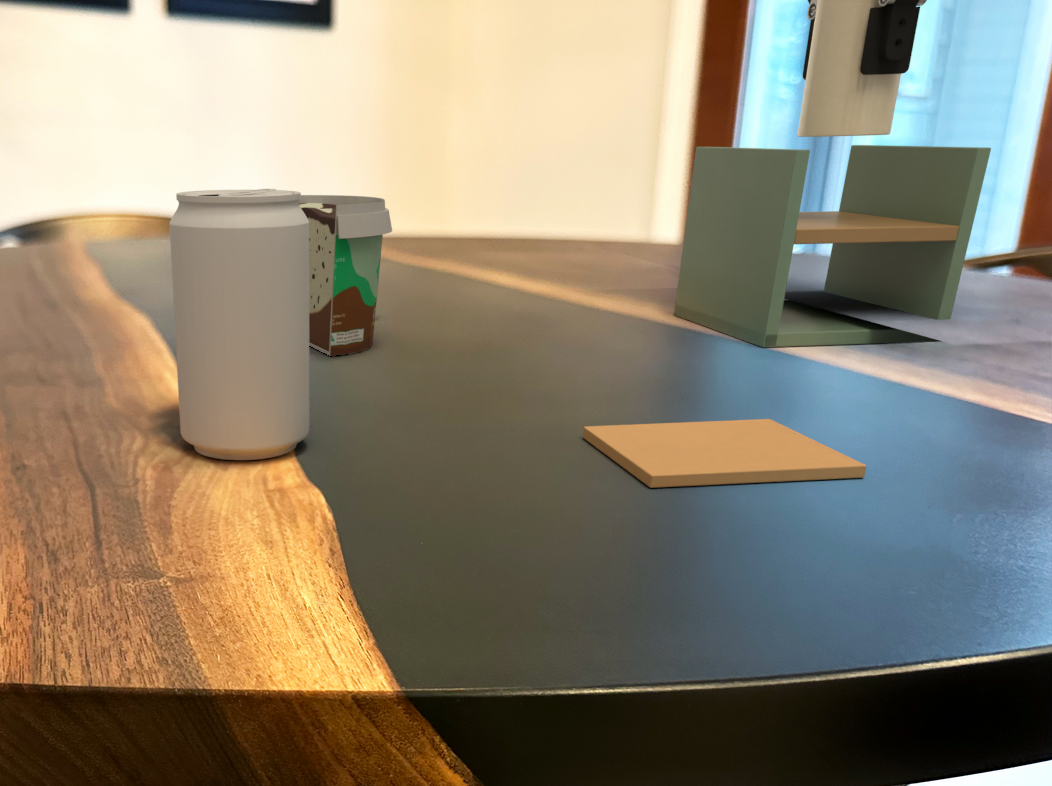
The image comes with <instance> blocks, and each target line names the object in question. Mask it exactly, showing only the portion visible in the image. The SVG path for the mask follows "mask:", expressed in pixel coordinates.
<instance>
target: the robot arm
mask: <svg viewBox="0 0 1052 786" xmlns="http://www.w3.org/2000/svg"><path fill="white" fill-rule="evenodd" d="M807 1H808V4H809V6H808V8H807V12H806V13H807V19H808V20H809V22H810V23H809V29H808V34H807V35H808V37H807V42H806V43H807V44H806V48H805V56H804V63H803V70H802V79H803V80H804V81H806V75H807V68H808V62H809V55H810V48H811V41H812V35H813V28H814V21H815V15H816V8H817V1H818V0H807ZM927 1H928V0H878V3H879V5H880V6H882V7H874V8H870V13H869V19H868V25H867V31H866V37H865V43H864V49H863V55H862V61H861V67H860V71H861V73H862V74H863V75H876V74H901V75H902V74H905V73H907V72H908V71H909V69H910V64H911V60H912V55H913V54H912V53H913V49H914V43H915V37H916V34H917V33H916V32H917V27H918V21H919V16H920V10H921V7H922V6H924V5H925V4H926V3H927Z"/></svg>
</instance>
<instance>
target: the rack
mask: <svg viewBox="0 0 1052 786" xmlns="http://www.w3.org/2000/svg"><path fill="white" fill-rule="evenodd" d="M991 152H992V148H991V147H982V146H981V147H980V146H979V147H978V146H976V147H975V146H937V145H936V146H934V145H933V146H932V145H883V144H882V145H881V144H880V145H879V144H852V145H850V149H849V155H848V161H847V166H846V173H845V175H844V182H843V188H842V193H841V198H840V202H839V209H838V210H836V211H835V210H832V211H828V210H827V211H801V205H802V200H803V193H804V188H805V184H806V183H805V182H806V177H807V170H808V164H809V159H810V154H811V150H810V149H800V148H799V149H796V148H793V149H792V148H765V147H764V148H763V147H761V148H760V147H731V146H730V147H729V146H696V147H695V154H694V161H693V169H692V175H691V176H692V177H691V181H690V182H691V184H690V190H689V191H690V192H689V199H688V204H687V205H688V206H687V213H686V221H685V229H684V237H683V242H682V243H683V244H682V251H681V257H680V258H681V259H680V265H679V273H678V274H679V275H678V280H677V286H676V287H677V288H676V295H675V304H674V310H673V316H676V317H678V318H681V319H684V320H687V321H690V322H692V323H694V324H698V325H701V326H703V327H706V328H709V329H712V330H715V331H717V332H720V333H723V334H725V335H728V336H730V337H734V338H736V339H739V340H742V341H744V342H747V343H750V344H753V345H755V346H758V347H760V348H783V347H784V348H785V347H786V348H787V347H816V346H817V347H818V346H843V345H845V346H846V345H847V346H849V345H874V344H877V345H878V344H879V345H880V344H902V343H903V344H904V343H905V344H906V343H931V342H932V343H934V342H935V343H936V342H941V340H940V339H936V338H932V337H929V336H925V335H923V334H918V333H914V332H911V331H908V330H907V331H906V330H904V329H899V328H895V327H892V326H888V325H885V324H881V323H877V322H873V321H871V320H866V319H863V318H859V317H855V316H852V315H848V314H844V313H841V312H838V311H837V312H836V311H834V310H829V309H826V308H822V307H820V306H815V305H811V304H807V303H803V302H800V301H796V300H793V299H785V297H786V291H787V286H788V280H789V274H790V269H791V262H792V257H793V251H794V245H823V244H824V245H826V244H828V245H831V244H832V245H831V251H830V256H829V261H828V267H827V271H826V277H825V282H824V288H823V293H827V294H831V295H835V296H840V297H844V298H847V299H852V300H856V301H859V302H863V303H867V304H871V305H875V306H880V307H884V308H889V309H892V310H896V311H901V312H905V313H908V314H913V315H917V316H920V317H924V318H928V319H933V320H937V321H945V320H948V321H949V320H951V318H952V314H953V309H954V305H955V301H956V297H957V292H958V290H959V285H960V280H961V276H962V272H963V268H964V264H965V259H966V256H967V251H968V247H969V243H970V238H971V234H972V230H973V226H974V222H975V218H976V213H977V209H978V205H979V201H980V197H981V194H982V189H983V185H984V181H985V176H986V172H987V168H988V164H989V159H990V155H991Z"/></svg>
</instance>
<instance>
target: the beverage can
mask: <svg viewBox="0 0 1052 786" xmlns="http://www.w3.org/2000/svg"><path fill="white" fill-rule="evenodd" d="M301 195H302V192H300V191H297V190H284V189H283V190H281V189H276V188H259V189H210V190H209V189H207V190H190V191H182V192H177V193H176V194H175V198H176V201H177V202H178V206H177V208H176V210H175V211H174V213H173V215H172V217H171V219H170V221H169V224H168V225H169V241H170V255H171V256H170V261H171V277H172V296H173V299H172V300H173V316H174V317H173V318H174V335H175V337H174V338H175V354H176V372H177V391H178V410H179V411H178V412H179V429H180V435H181V437H182V439H183V440H184V441H186V442H187V443H188V444H190V445H192V446H193V448H194V450H195V452H197V453H198V454H200V455H202V456H204V457H208V458H212V459H219V460H224V461H225V460H227V461H252V460H253V461H255V460H264V459H270V458H275V457H281V456H284V455H286V454H289V453H291V452H292V451H293V450H295V449H296V447H297V445H298V443H300V442H303V440H305V439H306V437H308V435H309V434H310V347H309V221H308V219H307V217H306V215H305V214H304V212H303V211H302V209H301V207H300V205H299V200H300V199H301Z"/></svg>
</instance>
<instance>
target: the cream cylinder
mask: <svg viewBox="0 0 1052 786" xmlns="http://www.w3.org/2000/svg"><path fill="white" fill-rule="evenodd" d="M874 7H882V6H880V5H879V3H878V0H818V1H817V8H816V15H815V21H814V28H813V35H812V41H811V48H810V55H809V62H808V68H807V75H806V80H805V82H804V90H803V94H802V95H803V96H802V102H801V109H800V116H799V122H798V129H797V137H798V138H816V137H817V138H823V137H826V138H827V137H859V136H860V137H861V136H862V137H865V136H888V135H891V132H892V125H893V120H894V115H895V114H894V113H895V109H896V104H897V99H898V93H899V87H900V82H901V77H902V76H901V75H902V74H876V75H863V74H862V73H861V71H860V67H861V61H862V55H863V49H864V43H865V37H866V31H867V25H868V19H869V13H870V8H874Z"/></svg>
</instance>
